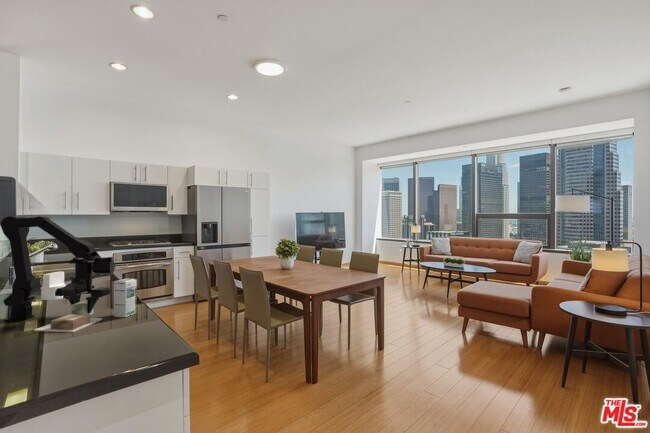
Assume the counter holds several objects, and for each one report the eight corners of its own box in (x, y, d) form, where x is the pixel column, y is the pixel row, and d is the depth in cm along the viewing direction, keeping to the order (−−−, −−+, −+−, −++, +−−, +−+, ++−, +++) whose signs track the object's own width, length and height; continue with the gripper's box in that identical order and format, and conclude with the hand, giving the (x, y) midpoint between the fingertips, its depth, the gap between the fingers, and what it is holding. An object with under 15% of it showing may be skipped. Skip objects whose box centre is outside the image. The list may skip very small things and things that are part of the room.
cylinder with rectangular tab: (54, 300, 150) (55, 274, 150) (35, 299, 150) (36, 274, 150) (70, 295, 159) (70, 271, 159) (52, 295, 159) (53, 271, 159)
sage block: (71, 317, 127) (71, 304, 127) (81, 313, 132) (81, 301, 132) (83, 317, 127) (84, 305, 127) (93, 313, 132) (93, 301, 132)
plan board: (33, 331, 111) (34, 320, 111) (67, 318, 125) (67, 309, 125) (73, 332, 111) (73, 322, 111) (102, 319, 125) (102, 310, 125)
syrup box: (125, 317, 127) (126, 281, 127) (112, 316, 129) (113, 280, 129) (136, 313, 133) (137, 278, 133) (124, 312, 134) (125, 278, 134)
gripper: (43, 277, 121) (41, 318, 121) (91, 278, 121) (90, 320, 121) (67, 272, 132) (66, 310, 132) (111, 273, 132) (110, 311, 132)
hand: (82, 312), depth 129 cm, fingers closed on sage block, 5 cm apart
